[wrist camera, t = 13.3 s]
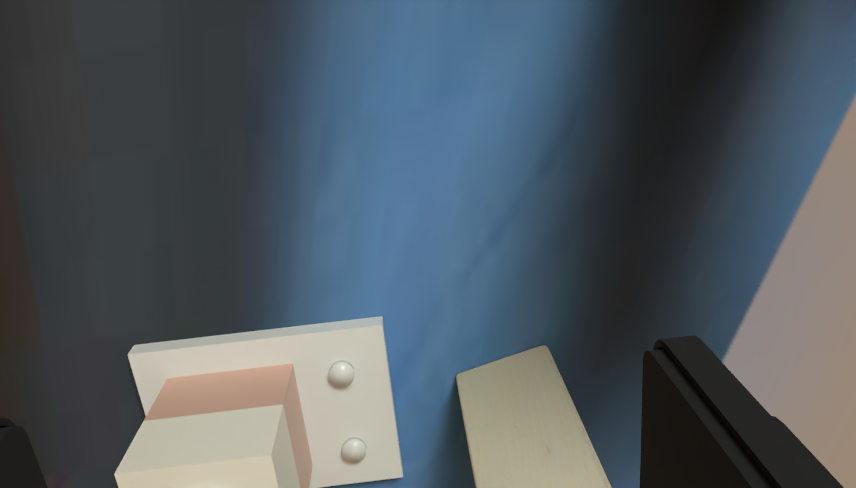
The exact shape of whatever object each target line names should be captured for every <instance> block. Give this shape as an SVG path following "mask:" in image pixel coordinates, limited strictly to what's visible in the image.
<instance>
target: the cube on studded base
mask: <svg viewBox="0 0 856 488" xmlns="http://www.w3.org/2000/svg"><path fill="white" fill-rule="evenodd" d="M128 358H129V361H130V365H131V368H132V372H133V375H134V378H135V382H136V385H137V388H138V392H139V395H140V398H141V402H142V405H143V408H144V412H145V415H146V418H145V419H144V421H143V423H142V425H141V427H140V429H139V430H138V432H137V434H136V436H135V438H134V439H133V441H132V443H131V445H130V447H129V448H128V450H127V452H126V454H125V456H124V458H123V459H122V461H121V463H120V465H119V467H118V468H117V470H116V472H115V474H114V475H115V478H116V481H117V484H118V487H119V488H320V487H328V486H336V485H344V484H352V483H360V482H368V481H376V480H384V479H392V478H401V477H403V466H402V458H401V451H400V443H399V436H398V428H397V421H396V414H395V406H394V399H393V391H392V384H391V377H390V369H389V362H388V354H387V347H386V339H385V332H384V325H383V317H382V316H380V317H371V318H363V319H354V320H346V321H337V322H328V323H320V324H311V325H303V326H294V327H285V328H277V329H268V330H260V331H251V332H243V333H234V334H225V335H217V336H208V337H200V338H191V339H182V340H174V341H165V342H157V343H148V344H140V345H134V346H133V347H132V349H131V350H130V352H129V353H128Z"/></svg>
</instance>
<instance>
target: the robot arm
mask: <svg viewBox="0 0 856 488" xmlns="http://www.w3.org/2000/svg"><path fill="white" fill-rule="evenodd" d="M0 488H47V485H46V483H45V480H44V477H43V475H42V472H41V469H40V467H39V464H38V461H37V459H36V456H35V454H34V451H33V448H32V446H31V443H30V440H29V438H28V435H27V433H26V431H25V430H24V429H23V428H22V427H20V426H15V425H14V423H13V422H12V421H11V420H9V419H7V418H0ZM640 488H843V486H842V485H840V483H839V482H838V481H837V480H836V479H835V478H834V477H833V476H832V475H831V474H830V473H829V471H828V470H827V469H826V468H825V467H824V466H823V465H822V464H821V463H820V462H819V461H818V460H817V459H816V458H815V457H814V455H812V453H811V452H810V451H809V450H808V449H807V448H806V447H805V446H804V445H803V444H802V443H801V441H800V440H799V439H798V438H797V437H796V436H795V435H794V434H793V433H792V432H791V431H790V430H789V429H788V428H787V427H786V426H785V424H784V423H782V422H781V421H780V420H779V419H777V418H776V417H773V416H771V415H770V414H769V413H768V412H767V411H766V410H765V409H764V408H763V407H762V406H761V405H760V404H759V402H758V401H757V400H756V399H755V398H754V397H753V396H752V395H751V394H750V393H749V391H748V390H747V389H746V388H745V387H744V386H743V385H742V384H741V383H740V382H739V381H738V380H737V378H735V376H734V375H733V374H732V373H731V372H730V371H729V370H728V369H727V368H726V366H725V365H724V364H723V363H722V362H721V361H720V360H719V359H718V358H717V357H716V356H715V355H714V353H713V352H712V351H711V350H710V349H709V348H708V347H707V346H706V345H705V344H704V343H703V341H702V340H701V339H700V338H698V337H697V336H686V337H678V338H669V339H661V340H658V341H657V342H656V343H655V346H654V350H649V351H646V352H645V354H644V358H643V387H642V427H641V467H640Z"/></svg>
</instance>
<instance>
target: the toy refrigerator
mask: <svg viewBox="0 0 856 488" xmlns="http://www.w3.org/2000/svg"><path fill="white" fill-rule="evenodd" d="M456 381H457V387H458V393H459V399H460V404H461V409H462V415H463V421H464V426H465V432H466V437H467V443H468V448H469V454H470V459H471V465H472V470H473V475H474V481H475V487H476V488H611V485H610V483H609V481H608V479H607V477H606V474H605V472H604V470H603V468H602V465H601V463H600V461H599V459H598V457H597V454H596V452H595V450H594V448H593V446H592V443H591V441H590V439H589V437H588V434H587V432H586V430H585V428H584V425H583V423H582V421H581V419H580V417H579V414H578V412H577V410H576V408H575V406H574V403H573V401H572V399H571V397H570V395H569V393H568V390H567V388H566V386H565V384H564V381H563V379H562V377H561V375H560V373H559V370H558V368H557V366H556V364H555V362H554V359H553V357H552V355H551V353H550V351H549V349H548V347H547V346H544V345H542V346H538V347H535V348H532V349H529V350H526V351H523V352H520V353H517V354H514V355H512V356H509V357H505V358H502V359H500V360H497V361H494V362H490V363H488V364H485V365H482V366H479V367H476V368H473V369H470V370H467V371H464V372H462V373H459V374H457V376H456Z"/></svg>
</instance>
